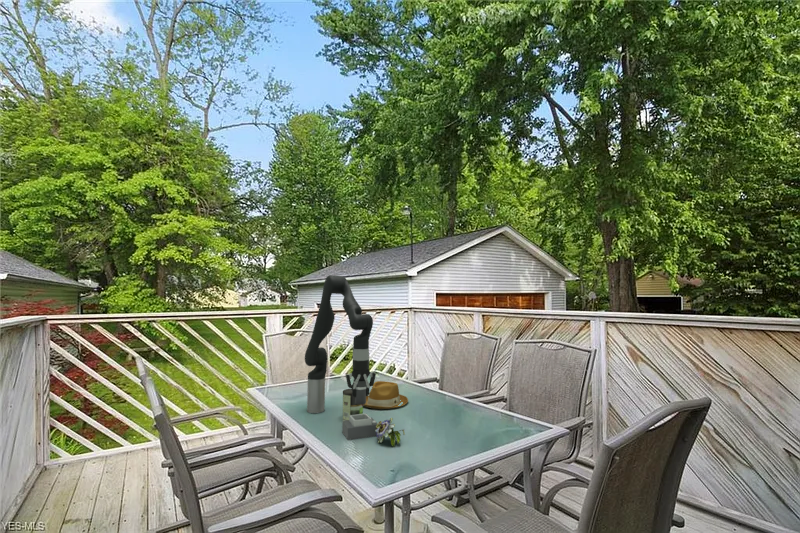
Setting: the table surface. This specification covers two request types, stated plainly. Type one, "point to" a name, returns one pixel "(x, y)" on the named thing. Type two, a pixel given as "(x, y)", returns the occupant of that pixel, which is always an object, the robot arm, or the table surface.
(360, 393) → the lens
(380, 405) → the fedora
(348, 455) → the table surface
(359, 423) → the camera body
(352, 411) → the coffee can
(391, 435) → the passion flower
